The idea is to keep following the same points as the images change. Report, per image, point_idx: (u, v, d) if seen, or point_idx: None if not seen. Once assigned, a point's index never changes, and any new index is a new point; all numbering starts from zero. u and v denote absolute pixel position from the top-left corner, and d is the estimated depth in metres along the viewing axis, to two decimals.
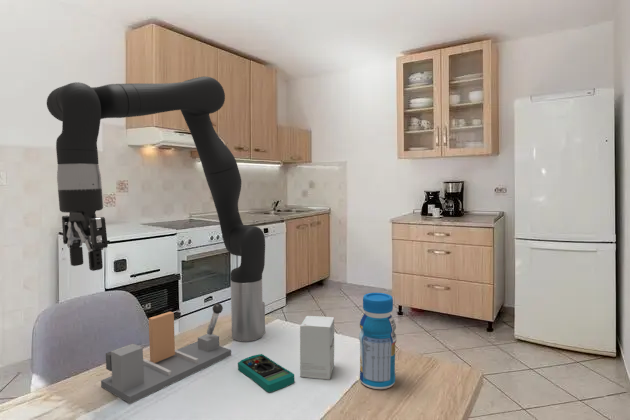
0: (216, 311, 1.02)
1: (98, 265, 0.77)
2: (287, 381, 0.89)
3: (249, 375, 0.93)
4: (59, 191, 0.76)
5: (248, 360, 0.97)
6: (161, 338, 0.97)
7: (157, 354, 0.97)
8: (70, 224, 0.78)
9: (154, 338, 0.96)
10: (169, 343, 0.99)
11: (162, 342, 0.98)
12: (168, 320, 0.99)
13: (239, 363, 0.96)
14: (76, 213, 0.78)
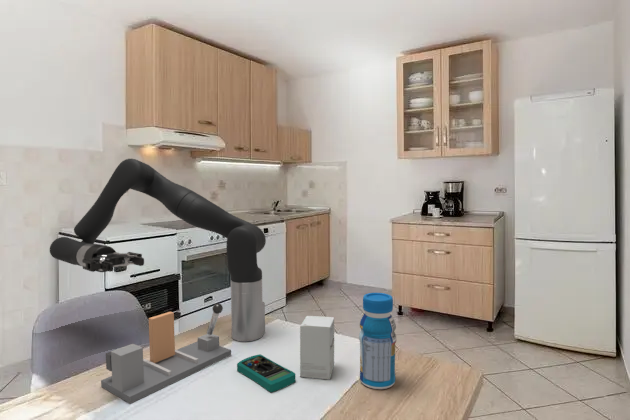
0: (216, 311, 1.02)
1: (106, 267, 1.01)
2: (289, 380, 0.89)
3: (249, 376, 0.92)
4: None
5: (247, 361, 0.97)
6: (161, 338, 0.97)
7: (157, 354, 0.97)
8: (113, 266, 1.11)
9: (154, 338, 0.96)
10: (169, 343, 0.99)
11: (162, 342, 0.98)
12: (168, 320, 0.99)
13: (238, 364, 0.96)
14: None
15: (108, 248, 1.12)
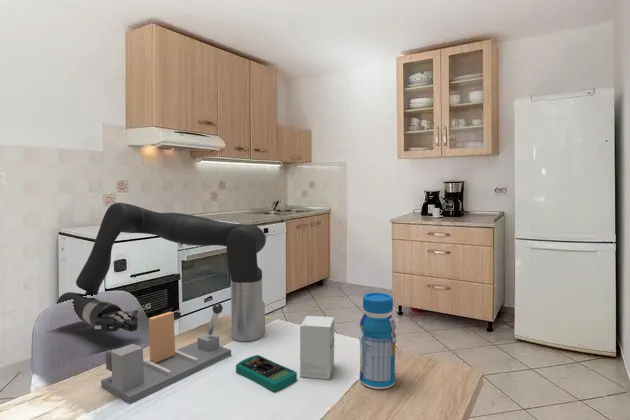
0: (216, 311, 1.02)
1: (127, 327, 1.05)
2: (291, 379, 0.90)
3: (250, 376, 0.92)
4: None
5: (246, 362, 0.96)
6: (161, 338, 0.97)
7: (157, 354, 0.97)
8: None
9: (154, 338, 0.96)
10: (169, 343, 0.99)
11: (162, 342, 0.98)
12: (168, 320, 0.99)
13: (237, 365, 0.95)
14: None
15: (113, 306, 1.14)
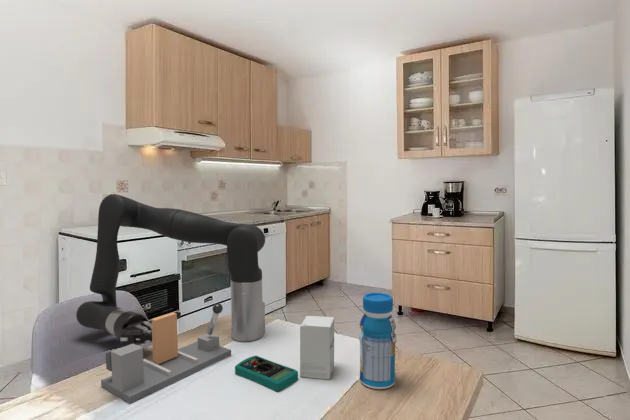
0: (216, 311, 1.02)
1: None
2: (293, 378, 0.90)
3: (251, 377, 0.91)
4: None
5: (245, 363, 0.96)
6: (164, 339, 0.97)
7: (160, 355, 0.96)
8: None
9: (157, 339, 0.95)
10: (172, 344, 0.99)
11: (165, 343, 0.97)
12: (171, 321, 0.98)
13: (237, 367, 0.94)
14: None
15: (139, 316, 1.06)
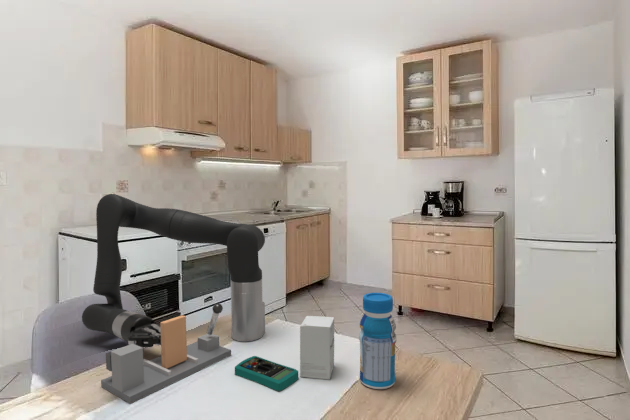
0: (216, 311, 1.02)
1: None
2: (293, 378, 0.90)
3: (251, 378, 0.91)
4: None
5: (244, 364, 0.95)
6: (173, 343, 0.95)
7: (169, 359, 0.94)
8: None
9: (166, 343, 0.93)
10: (181, 348, 0.97)
11: (174, 347, 0.95)
12: (180, 324, 0.96)
13: (236, 367, 0.94)
14: None
15: (146, 319, 1.04)
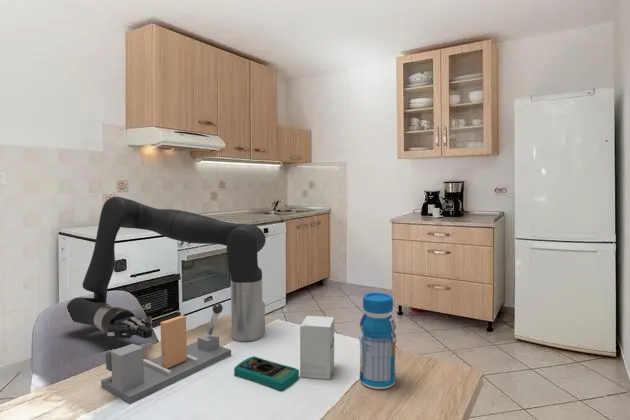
0: (216, 311, 1.02)
1: (142, 334, 1.01)
2: (294, 377, 0.91)
3: (252, 378, 0.91)
4: None
5: (244, 364, 0.95)
6: (173, 343, 0.95)
7: (169, 359, 0.94)
8: None
9: (166, 343, 0.93)
10: (181, 348, 0.97)
11: (174, 347, 0.95)
12: (180, 324, 0.96)
13: (236, 368, 0.93)
14: None
15: (126, 312, 1.09)
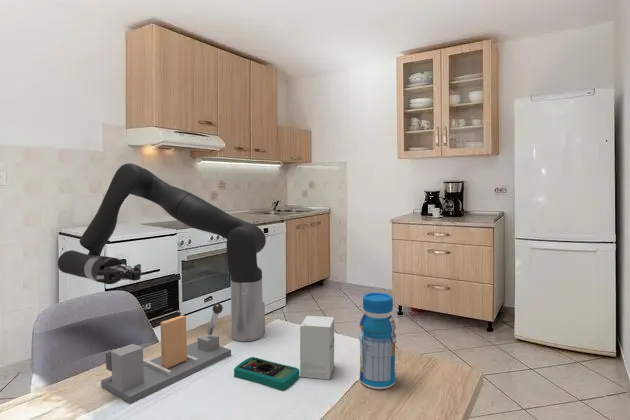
0: (216, 311, 1.02)
1: (130, 276, 1.03)
2: (295, 376, 0.91)
3: (252, 378, 0.91)
4: None
5: (243, 365, 0.95)
6: (173, 343, 0.95)
7: (169, 359, 0.94)
8: None
9: (166, 343, 0.93)
10: (181, 348, 0.97)
11: (174, 347, 0.95)
12: (180, 324, 0.96)
13: (236, 369, 0.93)
14: None
15: (115, 260, 1.11)
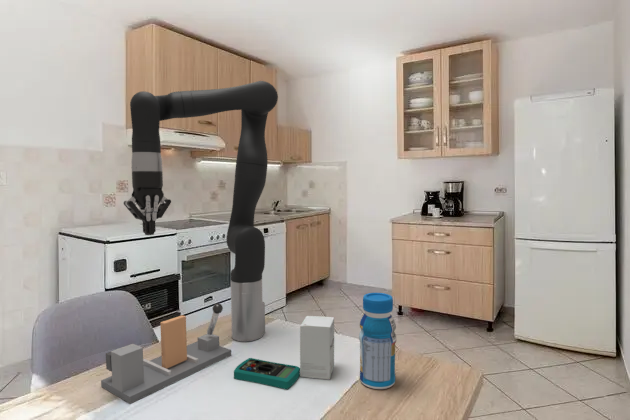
0: (216, 311, 1.02)
1: (144, 231, 1.05)
2: (297, 375, 0.92)
3: (254, 379, 0.90)
4: None
5: (243, 366, 0.94)
6: (173, 343, 0.95)
7: (169, 359, 0.94)
8: None
9: (166, 343, 0.93)
10: (181, 348, 0.97)
11: (174, 347, 0.95)
12: (180, 324, 0.96)
13: (236, 371, 0.92)
14: None
15: (157, 187, 1.04)
